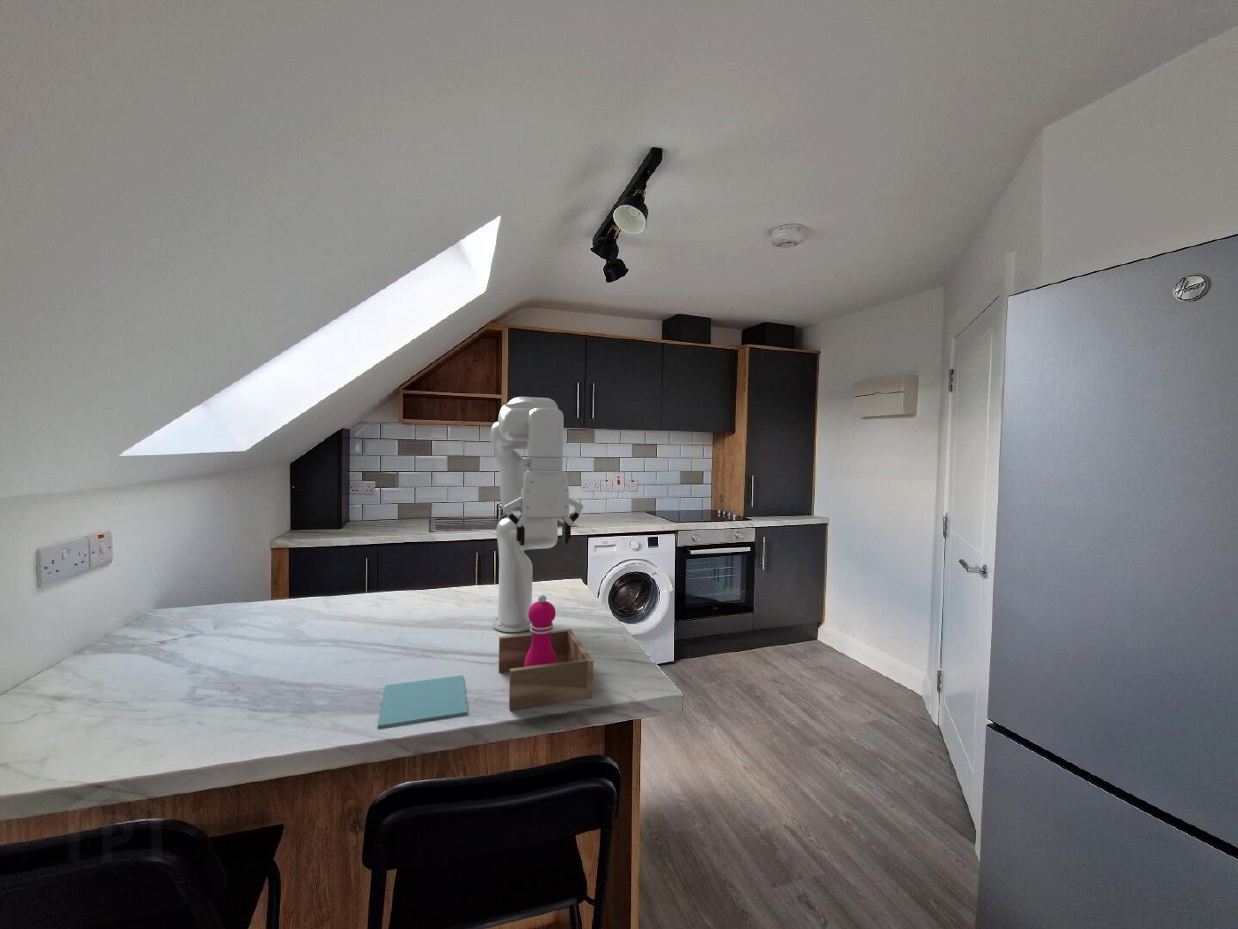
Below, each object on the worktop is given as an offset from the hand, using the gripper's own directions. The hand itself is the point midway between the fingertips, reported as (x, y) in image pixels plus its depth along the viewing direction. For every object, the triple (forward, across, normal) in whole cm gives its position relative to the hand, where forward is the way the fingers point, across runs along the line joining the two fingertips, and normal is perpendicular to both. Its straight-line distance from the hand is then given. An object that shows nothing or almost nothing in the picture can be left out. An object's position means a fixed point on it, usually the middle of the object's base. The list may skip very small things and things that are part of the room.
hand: (543, 543), depth 110 cm
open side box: (+32, 0, 0) cm, 32 cm away
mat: (+32, -24, 0) cm, 40 cm away
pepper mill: (+32, 0, 0) cm, 32 cm away
